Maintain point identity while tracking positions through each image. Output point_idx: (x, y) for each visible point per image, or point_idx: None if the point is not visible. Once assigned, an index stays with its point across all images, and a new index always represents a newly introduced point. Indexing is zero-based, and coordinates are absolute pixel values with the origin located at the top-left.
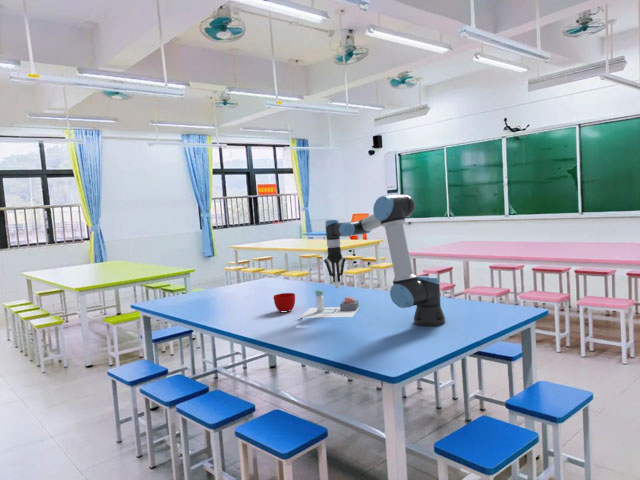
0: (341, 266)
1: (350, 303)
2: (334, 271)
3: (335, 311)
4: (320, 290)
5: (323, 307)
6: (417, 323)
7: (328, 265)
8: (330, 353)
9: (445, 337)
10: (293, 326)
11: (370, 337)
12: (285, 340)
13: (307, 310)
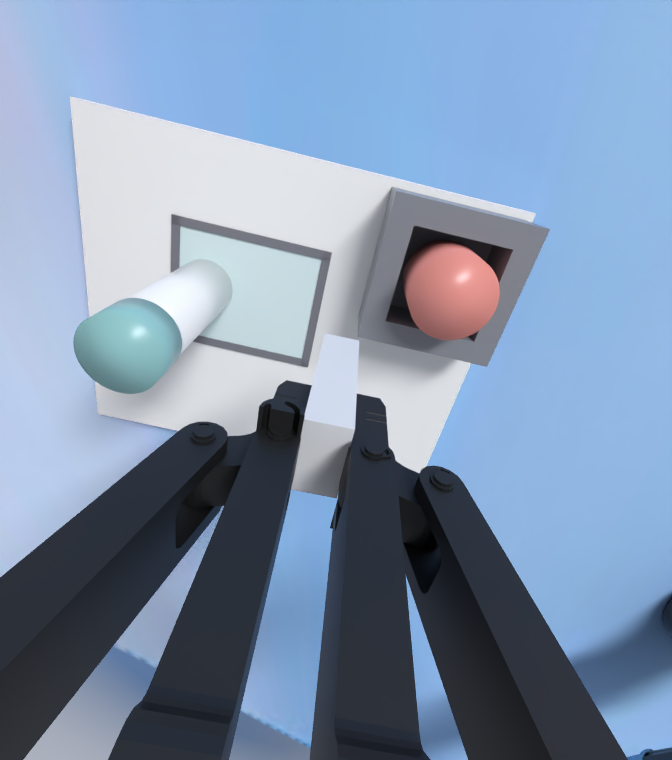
0: (467, 740)
1: (445, 350)
2: (273, 564)
3: (319, 323)
4: (131, 348)
5: (220, 310)
6: (667, 629)
7: (35, 741)
8: (311, 726)
9: (657, 718)
10: None
11: (438, 673)
12: (154, 636)
13: (81, 212)
